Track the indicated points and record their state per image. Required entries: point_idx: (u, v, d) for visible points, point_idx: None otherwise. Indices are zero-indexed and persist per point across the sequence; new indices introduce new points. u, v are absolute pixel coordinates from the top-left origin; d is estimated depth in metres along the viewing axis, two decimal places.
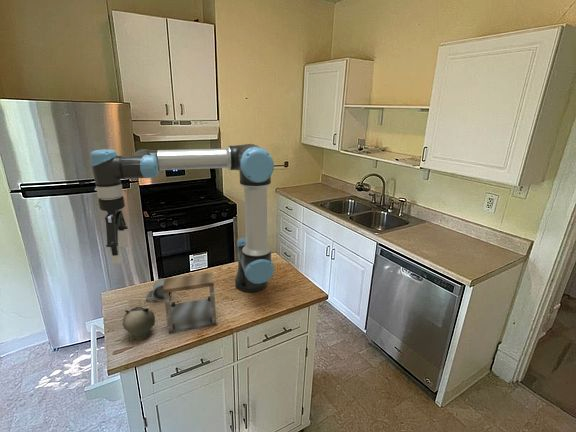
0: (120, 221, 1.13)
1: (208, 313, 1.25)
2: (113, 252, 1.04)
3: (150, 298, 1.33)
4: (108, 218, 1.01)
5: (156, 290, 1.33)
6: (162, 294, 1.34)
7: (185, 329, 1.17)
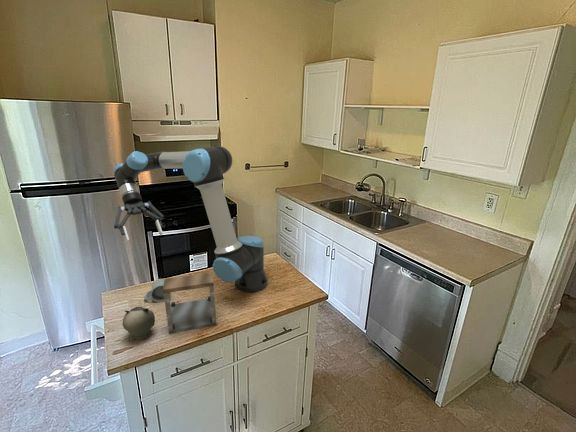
0: (146, 212, 1.40)
1: (208, 313, 1.25)
2: (121, 232, 1.32)
3: (148, 298, 1.32)
4: (117, 208, 1.36)
5: (154, 290, 1.33)
6: (160, 294, 1.34)
7: (185, 329, 1.17)
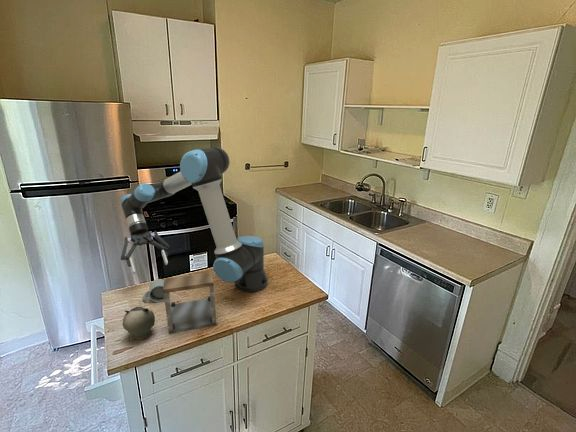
0: (152, 242, 1.43)
1: (208, 313, 1.25)
2: (127, 264, 1.35)
3: (147, 299, 1.32)
4: (124, 239, 1.39)
5: (153, 291, 1.33)
6: (159, 295, 1.34)
7: (185, 329, 1.17)
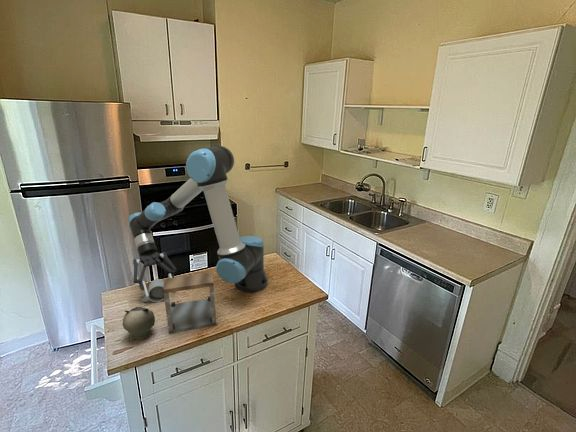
0: (160, 264, 1.38)
1: (208, 313, 1.25)
2: (140, 287, 1.31)
3: (145, 299, 1.32)
4: (133, 262, 1.34)
5: (151, 291, 1.33)
6: (157, 295, 1.34)
7: (185, 329, 1.17)
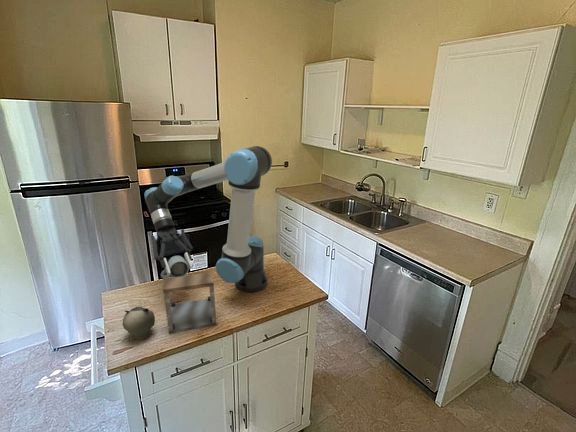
0: (177, 241, 1.31)
1: (208, 313, 1.25)
2: (161, 264, 1.25)
3: (166, 275, 1.26)
4: (150, 239, 1.28)
5: (172, 267, 1.27)
6: (178, 271, 1.28)
7: (185, 329, 1.17)
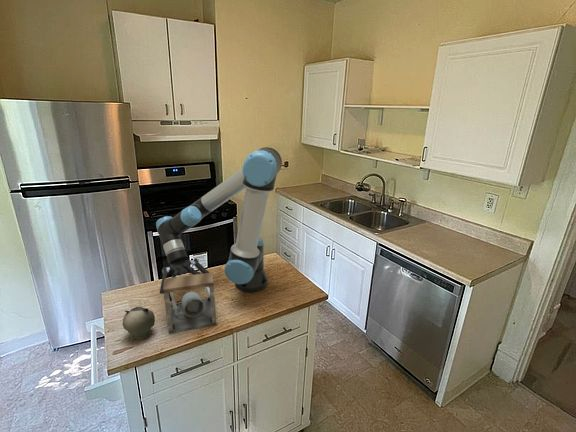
0: (193, 272, 1.26)
1: (208, 313, 1.25)
2: None
3: (181, 314, 1.21)
4: (162, 269, 1.22)
5: (187, 305, 1.22)
6: (193, 309, 1.23)
7: (185, 329, 1.17)
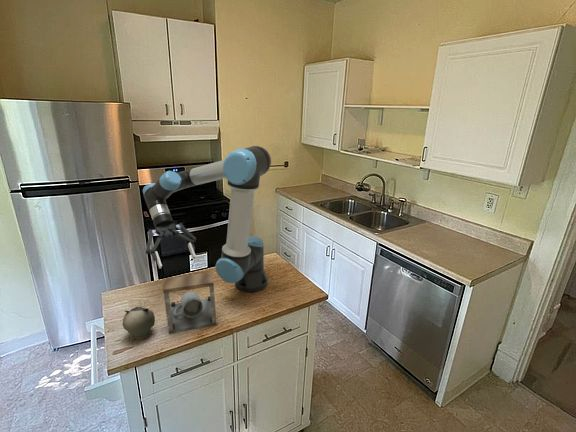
0: (178, 235, 1.32)
1: (208, 313, 1.25)
2: (153, 258, 1.24)
3: (179, 314, 1.21)
4: (148, 232, 1.28)
5: (186, 305, 1.21)
6: (192, 309, 1.23)
7: (185, 329, 1.17)
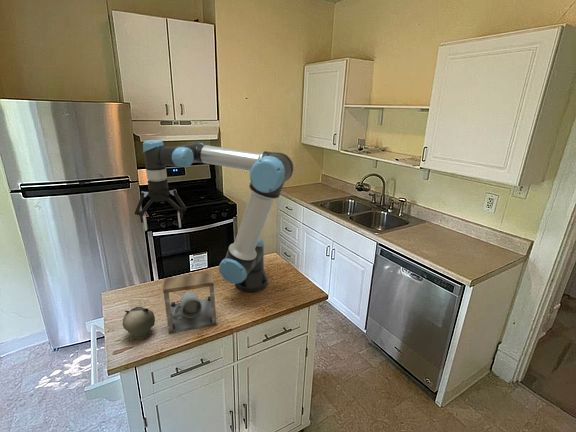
0: None
1: (208, 313, 1.25)
2: None
3: (178, 315, 1.20)
4: (141, 192, 1.29)
5: (185, 305, 1.21)
6: (191, 309, 1.22)
7: (185, 329, 1.17)
